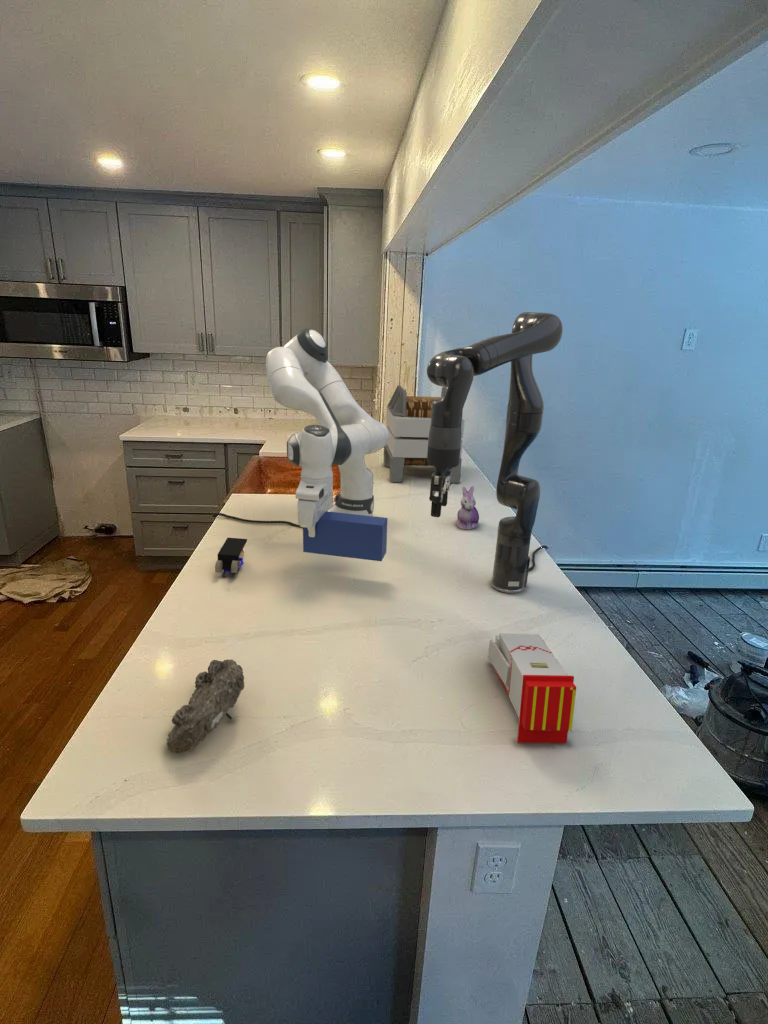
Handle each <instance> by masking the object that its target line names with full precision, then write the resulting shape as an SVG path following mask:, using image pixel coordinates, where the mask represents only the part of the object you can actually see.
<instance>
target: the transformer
mask: <svg viewBox="0 0 768 1024" xmlns="http://www.w3.org/2000/svg"><path fill="white" fill-rule="evenodd" d="M447 389H448V387H443V386H441V392H440V393H441V394H440V396H415V395H414V396H413V395H412V396H411V395H407V394H408V393H407V390H406V389H404V388H403V387H402V385H399V384H398V385H397V386H396V388H395V390H394V392H393V394H392V395H391V398H390V400H389V402H388V404H387V405H386V413H385V414H386V415H385V423H386V425H385V426H386V428H387V429H388V432H389V440H388V443H387V445H386V446H385V447H383V466H384V467H388V468H389V475H388V476H389V477H388V478H389V480H390V482H391V483H402V482H403V475H404V469H405V466H406V467H407V466H411V467H412V466H413V467H415V466H416V467H417V466H418V467H431V465H429V464H428V463H427V451H428V436H429V430H430V424H431V410H432V403H433V401H434V400H435V399H437V398H442V397H445V394H446V392H447ZM464 429H465V419H464V418H462V425H461V433H462V437H461V448H460V459H459V465H458V466H456V467H453V468H452V475H451V484H455V483H456V484H459V483H461V472H462V461H463V460H462V453H463V442H464V441H463V440H462V439H463V438H464V431H465V430H464Z"/></svg>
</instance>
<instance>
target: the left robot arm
mask: <svg viewBox="0 0 768 1024" xmlns="http://www.w3.org/2000/svg"><path fill="white" fill-rule="evenodd" d="M328 359H329V356H328V345H327V342H326V340H325V338H324V337H323V335H322V334H321V333H320V332H318V330H316V329H314V328H311V327H305V328H303V329H301V330H300V331H298V332H297V334H296V335H295V336H293V337H292V338H290V340H289V341H287V343H285V344H284V345H283V346H276V347H274V348H272V349H271V350H269V352H268V353H267V355H266V357H265V373H266V378H267V383H268V387H269V389H270V392H271V393H270V394H271V395H272V397H273V398H274V400H275V401H276V402H277V403H278V404H279V405H281V406H283V407H285V408H288V409H291V410H297V411H301V412H305V413H308V414H310V415H311V416H313V417H314V418H315V419H316V421H317V422H318V424H309V425H306V426H304V427H303V428H302V429H301V431H300V432H296V433H293V434H292V435H291V436H290V437H289V438H288V440H287V441H286V457H287V458H286V459H287V461H289V462H290V463H291V464H292V465H294V466H295V467H300V468H301V471H300V480H299V484H298V486H297V489H296V490H295V499H297V504H296V505H297V506H296V510H297V523H294V522H292V521H288V520H259V519H258V520H257V519H256V520H255V519H246V518H241V517H237V516H232V515H228V514H225V513H222V512H216V513H214V514H213V515H212V518H217V517H218V516H220V517H224V518H228V519H231V520H236V521H240V522H244V523H252V524H285V525H288V526H289V525H290V526H293V527H295V528H302V529H303V527H305V528H307V529H308V531H309V537H315V535H316V530H315V525H316V523H317V521H318V520H319V519H320V517H321V516H322V515H323V514H324V513H325V512H326V511H327V512H337V513H346V514H356V515H365V516H374V513H373V512H374V509H375V496H374V473H373V471H372V470H371V469H369V468H368V467H367V466H366V465H367V464H366V462H365V457H366V456H367V455H371V454H374V453H377V452H380V451H381V450H382V449H384V447H385V446H386V445H387V443H388V440H389V432H388V429H387V428H386V426H387V425H385V424H384V423H383V422H381V421H379V420H377V419H375V418H374V417H372V416H371V415H370V414H369V413H368V412H366V410H364V409H363V408H362V407H361V405H360V404H359V403H358V402H357V401H356V400H355V398H354V396H353V394H352V393H351V392H350V390H349V389H348V387H347V385H346V383H345V381H344V380H343V378H342V377H341V375H340V374H339V372H338V370H337V369H335V367H334V366H333V365H332V364H331V363H330V362H329V361H328ZM332 466H337V468H338V470H339V476H340V477H339V478H340V480H339V481H340V484H339V485H340V488H339V489H340V490H339V491H338V492H337V494H336V495H335V496H334V473H333V469H332Z"/></svg>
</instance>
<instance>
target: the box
mask: <svg viewBox="0 0 768 1024" xmlns="http://www.w3.org/2000/svg"><path fill="white" fill-rule="evenodd" d="M388 520H389V519H388V517H384V516H374V515H373V516H365V515H356V514H346V513H337V512H327V511H326V512H325V513H324V514H323V515H322V516H321V517H320V519H319V520H318V521H317V523H316V525H315V530H316V535H315V537H309V531H308V529H307V528H305V527H302V552H303V553H308V554H317V555H323V556H324V555H325V556H332V557H333V556H334V557H341V558H348V559H349V558H350V559H358V560H364V561H365V560H367V561H374V562H383V560H384V558H385V556H386V555H387V545H388V542H387V541H388Z"/></svg>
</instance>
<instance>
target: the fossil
mask: <svg viewBox="0 0 768 1024" xmlns="http://www.w3.org/2000/svg"><path fill="white" fill-rule="evenodd" d="M243 670H244V669H243V667H242V665H240V664H237V662H236V661H235V660H234V659H232V658H231V659H227V658H226V659H224V660H223V661H222V660H217V659H212V660H211V661H210V663H209V665H208V666H207V671H201V672H199V673H198V674H197V675H196V676H195V680H194V684H195V685H194V687H195V689H194V690H193V693H192V694H191V697H190V698H189V700H188V704H184V705H182V706H181V707H180V709H177V710H176V711H175V713H174V715H173V716H172V718H171V723H172V724H173V727H172V730H171V731H170V732H168V734H167V738H166V741H167V742H166V745H167V749H168V750H169V751H173V752H174V753H176V754H178V753H182V752H188V751H189V752H192V751H193V750H195V748H196V747H197V746H199V744H200V743H201V742H203V741H204V740H205V739H206V738H207V737H208V736H209V735H210V734H211V733H212V732H214V730H215V729H217V727H218V726H219V724H220V722H221V721H222V720H223V719H224V718H225V716H226V717H227V719H229V720H233V717H232V715H230V714H229V710H230V709H231V708H234V706H235V704H236V703H237V702H238V699H239V697H240V695H241V693H242V691H243V690H245V689H244V688H245V675H244V671H243Z"/></svg>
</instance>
